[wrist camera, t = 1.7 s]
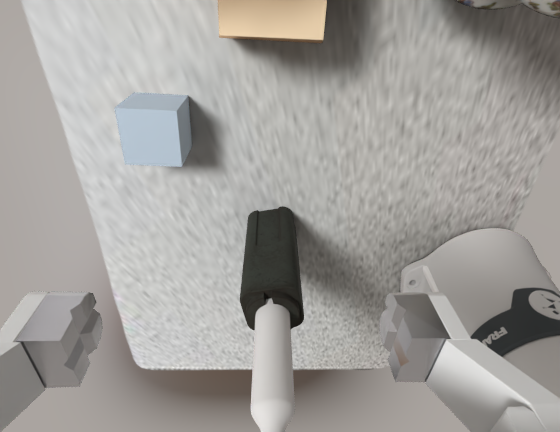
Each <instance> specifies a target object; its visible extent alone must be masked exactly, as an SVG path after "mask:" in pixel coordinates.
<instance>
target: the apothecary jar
mask: <svg viewBox="0 0 560 432" xmlns="http://www.w3.org/2000/svg"><path fill="white" fill-rule="evenodd" d="M456 1H457V2H459V3H461V4H464V5H466V6H469V7H473V8H478V9H489V10H492V9H503V8H508V7H513V6H517V5H520V4H524V5H525V6H527V7H528V8H530V9H532V10H534V11H536V12H538V13H541V14H544V15H547V16H550V17H554V18H560V0H456Z"/></svg>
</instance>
